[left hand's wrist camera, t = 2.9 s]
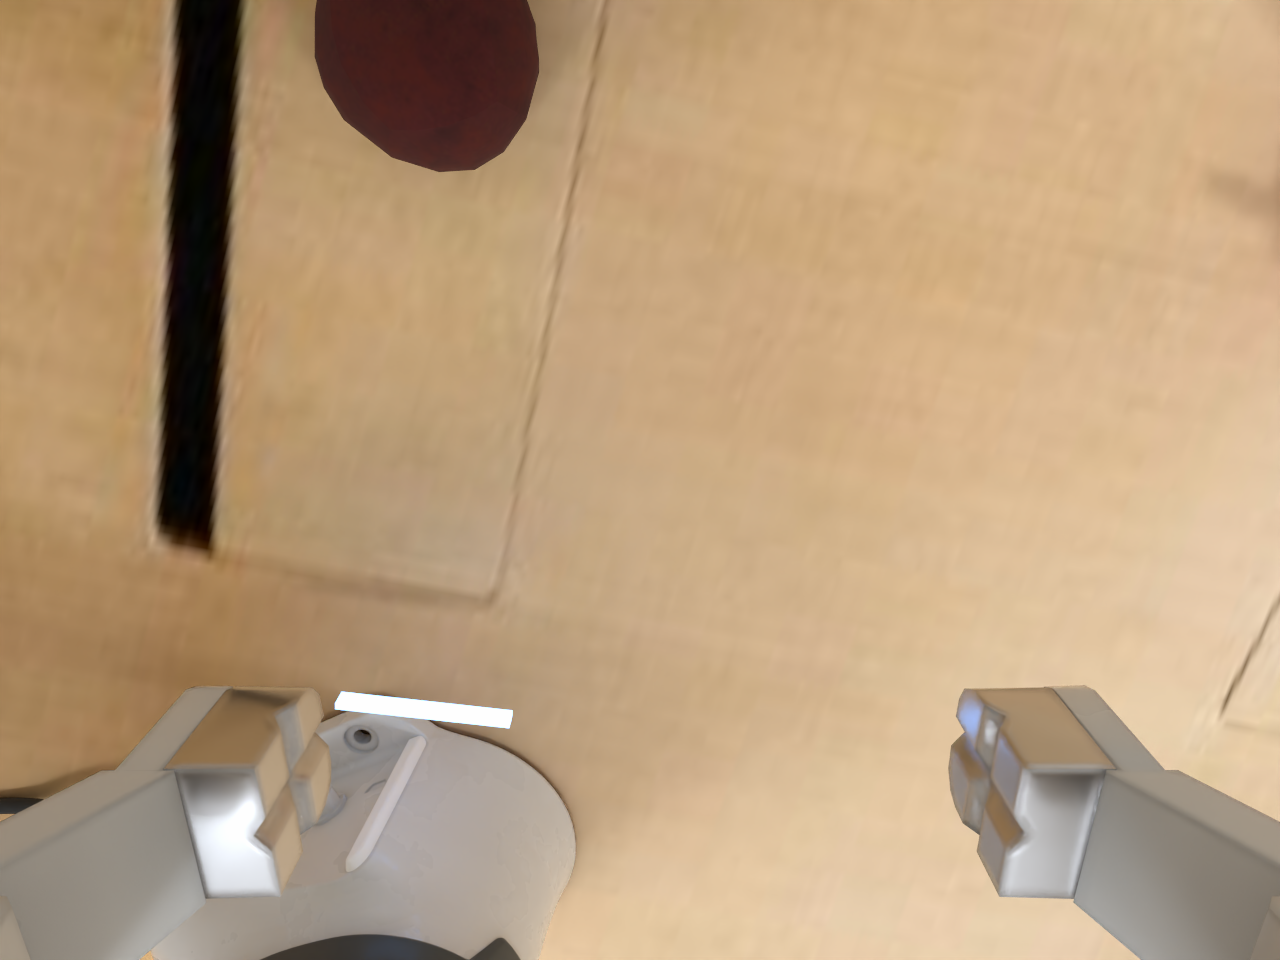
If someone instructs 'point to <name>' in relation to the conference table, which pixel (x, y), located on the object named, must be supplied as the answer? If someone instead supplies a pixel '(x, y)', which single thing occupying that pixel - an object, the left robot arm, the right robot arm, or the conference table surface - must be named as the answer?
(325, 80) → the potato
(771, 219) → the conference table surface
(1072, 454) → the conference table surface
